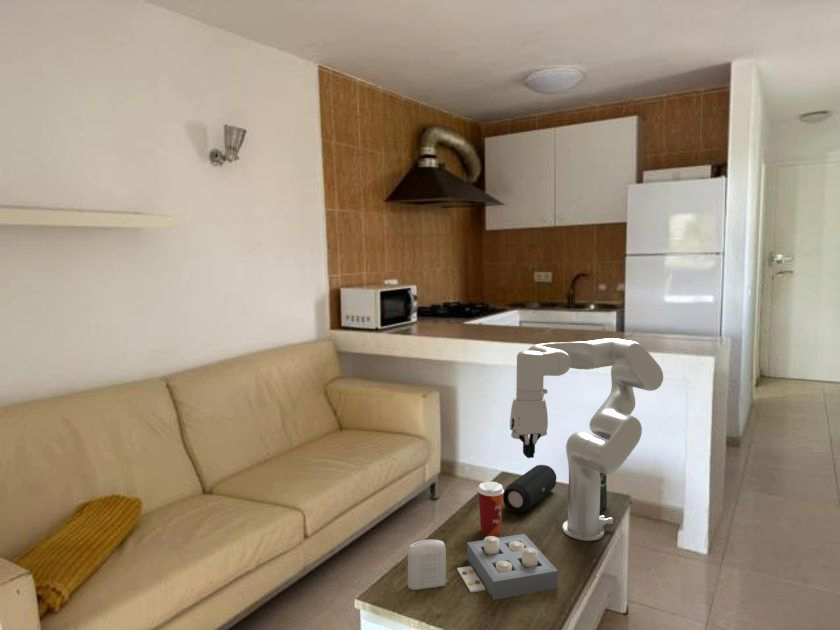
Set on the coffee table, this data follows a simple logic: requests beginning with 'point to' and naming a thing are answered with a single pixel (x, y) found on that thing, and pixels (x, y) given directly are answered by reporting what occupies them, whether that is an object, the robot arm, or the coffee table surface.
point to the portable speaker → (529, 488)
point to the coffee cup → (490, 507)
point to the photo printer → (426, 564)
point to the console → (511, 581)
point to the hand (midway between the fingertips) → (528, 456)
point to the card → (471, 579)
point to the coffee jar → (603, 491)
